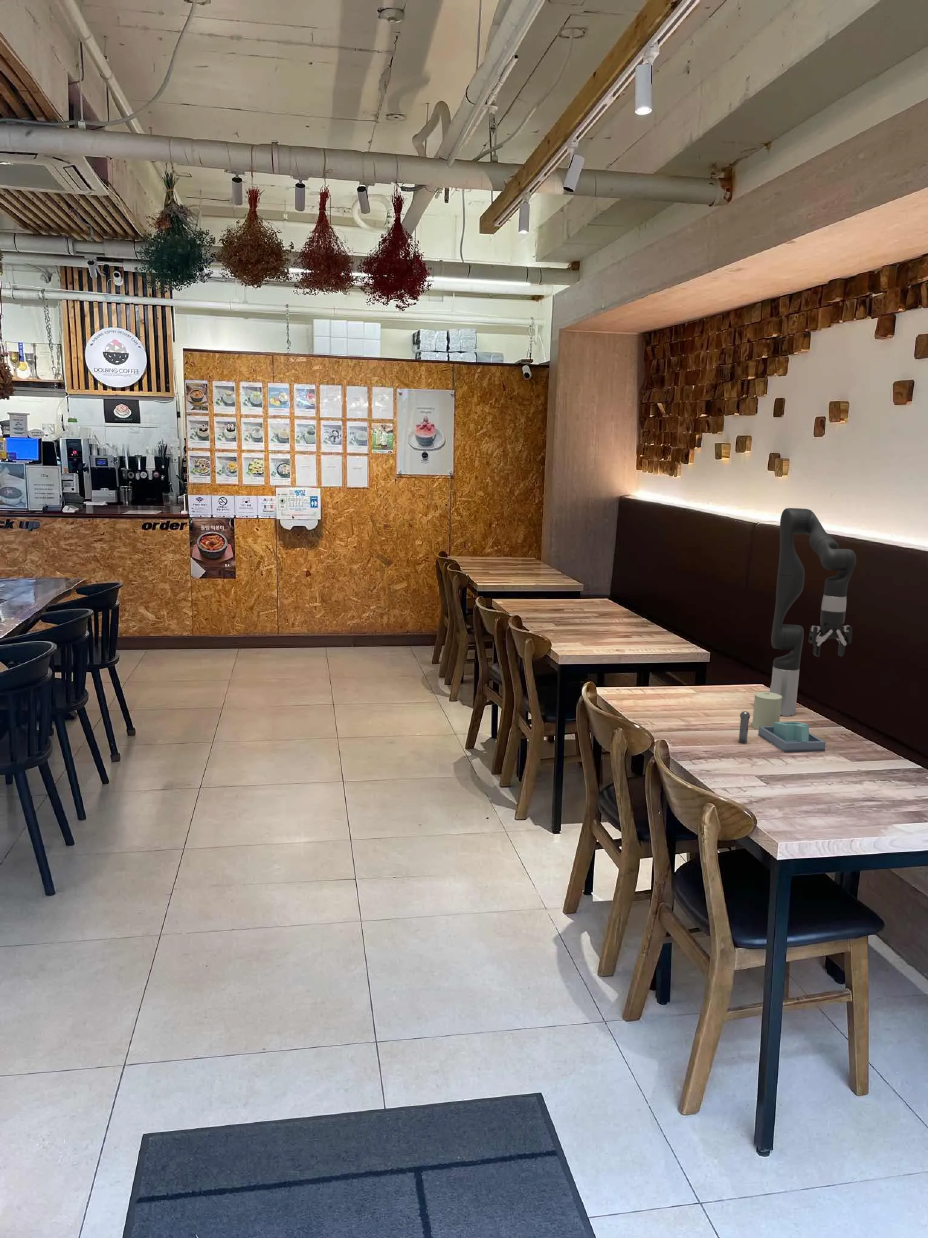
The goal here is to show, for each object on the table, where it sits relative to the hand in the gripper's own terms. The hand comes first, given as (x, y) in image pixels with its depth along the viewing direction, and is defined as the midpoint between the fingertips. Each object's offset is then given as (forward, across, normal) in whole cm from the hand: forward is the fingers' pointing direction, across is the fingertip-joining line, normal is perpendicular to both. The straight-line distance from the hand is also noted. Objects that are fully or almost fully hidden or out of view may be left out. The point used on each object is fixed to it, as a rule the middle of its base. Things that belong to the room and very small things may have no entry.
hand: (828, 656), depth 293 cm
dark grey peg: (+28, +31, +6) cm, 42 cm away
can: (+28, +15, -10) cm, 33 cm away
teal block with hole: (+26, +15, +10) cm, 31 cm away
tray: (+28, +15, +7) cm, 32 cm away
